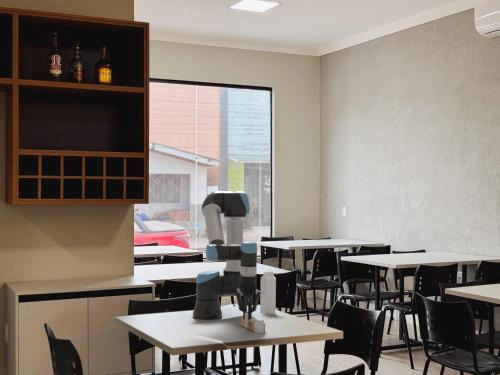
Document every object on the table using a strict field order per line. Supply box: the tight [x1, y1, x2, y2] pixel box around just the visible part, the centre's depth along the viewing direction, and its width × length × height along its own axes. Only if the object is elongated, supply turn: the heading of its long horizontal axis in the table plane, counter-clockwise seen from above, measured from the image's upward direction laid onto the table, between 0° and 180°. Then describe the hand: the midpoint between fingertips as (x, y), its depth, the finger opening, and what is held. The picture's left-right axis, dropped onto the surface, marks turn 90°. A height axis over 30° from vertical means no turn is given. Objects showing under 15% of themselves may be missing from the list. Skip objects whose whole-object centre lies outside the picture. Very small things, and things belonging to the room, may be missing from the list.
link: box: [240, 315, 266, 333], centre depth 323 cm, size 18×5×4 cm, turn 23°
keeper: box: [251, 317, 265, 335], centre depth 315 cm, size 5×5×6 cm
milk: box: [259, 271, 277, 315], centre depth 370 cm, size 6×6×22 cm
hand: (247, 326), depth 320 cm, fingers closed
